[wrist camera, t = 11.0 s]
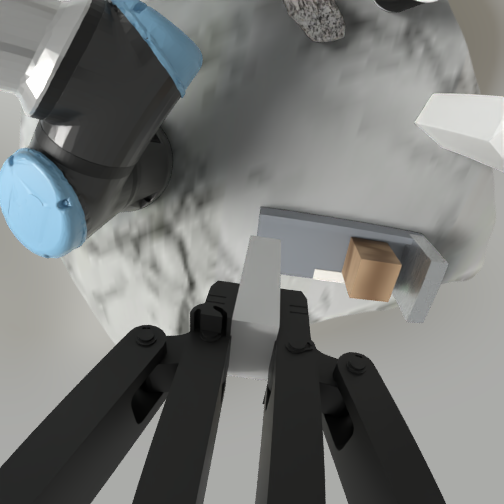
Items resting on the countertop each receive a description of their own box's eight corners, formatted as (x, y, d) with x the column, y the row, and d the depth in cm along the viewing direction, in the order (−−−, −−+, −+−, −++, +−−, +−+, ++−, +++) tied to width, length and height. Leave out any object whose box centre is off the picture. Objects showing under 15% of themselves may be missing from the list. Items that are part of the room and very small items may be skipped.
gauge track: (253, 266, 50) (251, 276, 47) (260, 206, 45) (259, 214, 42) (403, 286, 49) (408, 296, 46) (421, 233, 45) (429, 241, 42)
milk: (440, 147, 38) (537, 192, 19) (412, 122, 37) (508, 149, 18) (459, 118, 36) (561, 145, 16) (432, 91, 35) (533, 99, 15)
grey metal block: (389, 288, 48) (406, 321, 40) (408, 233, 44) (431, 261, 36) (405, 290, 48) (422, 323, 40) (424, 236, 44) (448, 263, 36)
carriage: (340, 277, 48) (347, 303, 41) (350, 236, 45) (361, 259, 38) (377, 282, 48) (389, 307, 41) (390, 243, 44) (405, 265, 38)
